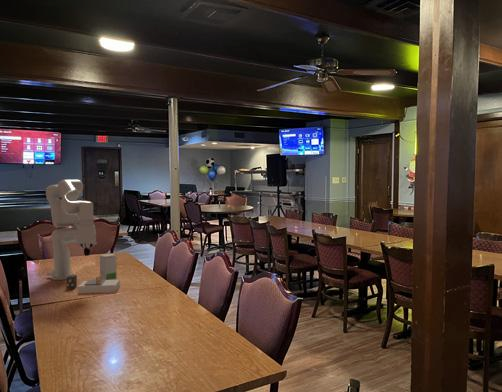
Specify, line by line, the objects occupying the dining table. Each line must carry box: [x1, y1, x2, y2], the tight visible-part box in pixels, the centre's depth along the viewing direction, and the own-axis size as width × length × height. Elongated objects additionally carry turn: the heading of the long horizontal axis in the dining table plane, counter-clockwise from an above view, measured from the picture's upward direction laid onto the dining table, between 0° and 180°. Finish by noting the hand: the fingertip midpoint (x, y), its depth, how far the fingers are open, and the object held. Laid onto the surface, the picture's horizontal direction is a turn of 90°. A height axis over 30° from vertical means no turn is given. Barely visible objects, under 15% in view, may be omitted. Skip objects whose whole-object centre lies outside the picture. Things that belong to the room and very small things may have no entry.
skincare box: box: [99, 253, 118, 280], centre depth 243 cm, size 8×7×16 cm
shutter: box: [84, 273, 105, 285], centre depth 220 cm, size 9×10×4 cm
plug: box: [66, 274, 78, 290], centre depth 224 cm, size 4×6×7 cm, turn 8°
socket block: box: [77, 279, 121, 295], centre depth 221 cm, size 20×12×4 cm, turn 99°
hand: (87, 255), depth 219 cm, fingers closed
